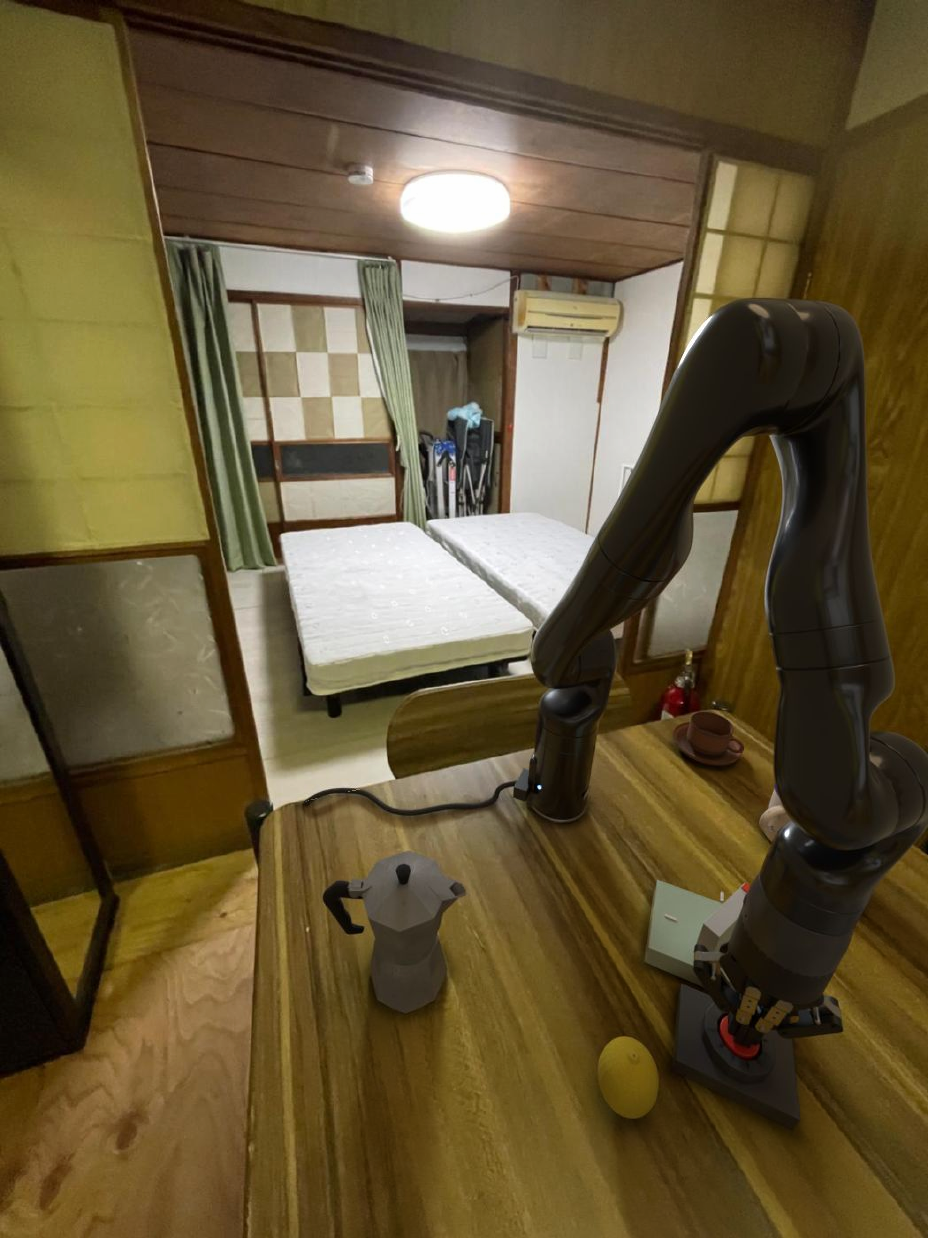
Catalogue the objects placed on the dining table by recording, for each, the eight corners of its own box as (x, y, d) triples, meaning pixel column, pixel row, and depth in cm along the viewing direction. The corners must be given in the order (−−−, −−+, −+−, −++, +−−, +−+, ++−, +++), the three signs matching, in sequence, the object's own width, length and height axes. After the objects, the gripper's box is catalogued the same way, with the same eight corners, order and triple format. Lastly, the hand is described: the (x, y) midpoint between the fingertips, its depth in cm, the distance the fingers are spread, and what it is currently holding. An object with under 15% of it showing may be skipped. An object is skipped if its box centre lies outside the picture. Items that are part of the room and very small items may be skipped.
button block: (671, 1071, 53) (679, 1051, 51) (677, 994, 59) (684, 973, 58) (793, 1131, 49) (806, 1111, 47) (785, 1041, 55) (796, 1021, 54)
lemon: (586, 1065, 53) (595, 1023, 50) (637, 1060, 54) (650, 1018, 50) (603, 1137, 48) (615, 1096, 45) (660, 1131, 49) (676, 1090, 45)
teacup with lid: (792, 808, 85) (814, 754, 80) (841, 854, 77) (869, 796, 72) (731, 823, 82) (750, 767, 77) (776, 872, 74) (800, 813, 69)
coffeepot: (463, 932, 66) (466, 832, 58) (464, 1016, 57) (466, 912, 49) (343, 931, 65) (328, 831, 57) (325, 1015, 57) (305, 911, 49)
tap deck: (642, 975, 61) (646, 959, 60) (654, 884, 72) (658, 869, 71) (781, 1035, 56) (789, 1019, 54) (771, 927, 67) (778, 912, 65)
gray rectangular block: (708, 967, 59) (720, 936, 57) (692, 952, 61) (703, 921, 58) (749, 923, 64) (761, 893, 61) (733, 911, 65) (745, 881, 63)
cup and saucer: (738, 740, 100) (747, 714, 98) (739, 780, 91) (749, 752, 88) (674, 723, 105) (680, 698, 102) (668, 759, 95) (675, 733, 92)
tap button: (716, 1053, 52) (720, 1045, 51) (717, 1017, 55) (720, 1008, 54) (756, 1072, 51) (760, 1063, 50) (754, 1033, 54) (758, 1024, 53)
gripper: (706, 935, 44) (668, 1043, 52) (894, 1008, 39) (821, 1115, 47) (708, 866, 50) (674, 971, 58) (871, 922, 45) (810, 1029, 53)
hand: (740, 1035), depth 52 cm, fingers closed
